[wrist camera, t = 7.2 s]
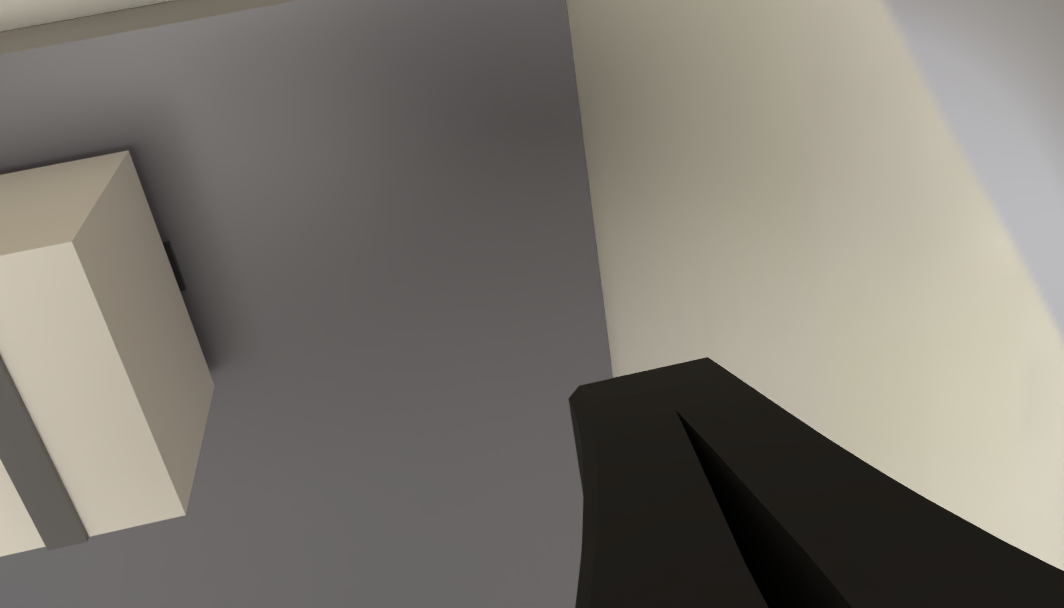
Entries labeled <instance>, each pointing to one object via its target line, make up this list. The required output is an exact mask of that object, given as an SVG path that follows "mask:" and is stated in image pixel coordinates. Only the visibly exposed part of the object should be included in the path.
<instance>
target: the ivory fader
mask: <svg viewBox="0 0 1064 608" xmlns="http://www.w3.org/2000/svg"><path fill="white" fill-rule="evenodd" d="M214 386H215V385H214V382H213V380H212V377H211V374H210V372H209V369H208V366H207V363H206V361H205V358H204V355H203V352H202V350H201V347H200V344H199V341H198V339H197V336H196V333H195V331H194V328H193V325H192V322H191V320H190V317H189V314H188V311H187V309H186V306H185V303H184V300H183V298H182V295H181V292H180V290H179V287H178V284H177V281H176V279H175V276H174V273H173V270H172V268H171V265H170V262H169V259H168V257H167V254H166V251H165V249H164V246H163V243H162V240H161V238H160V235H159V232H158V229H157V227H156V224H155V221H154V219H153V216H152V213H151V210H150V208H149V205H148V202H147V199H146V197H145V194H144V191H143V188H142V186H141V183H140V180H139V178H138V175H137V172H136V169H135V167H134V164H133V161H132V158H131V156H130V153H129V150H128V151H122V152H117V153H112V154H107V155H101V156H96V157H91V158H86V159H81V160H75V161H70V162H65V163H60V164H54V165H49V166H44V167H39V168H34V169H28V170H23V171H18V172H13V173H7V174H2V175H0V557H1V556H6V555H10V554H15V553H19V552H24V551H28V550H32V549H37V548H41V547H46V548H47V550H48V551H49V550H54V549H58V548H63V547H67V546H72V545H76V544H81V543H85V542H87V541H88V539H89V537H91V536H95V535H99V534H104V533H108V532H113V531H117V530H122V529H126V528H131V527H135V526H140V525H144V524H149V523H153V522H158V521H162V520H167V519H171V518H175V517H180V516H184V515H186V512H187V507H188V503H189V498H190V494H191V489H192V485H193V480H194V476H195V471H196V467H197V462H198V458H199V454H200V449H201V445H202V440H203V436H204V431H205V427H206V422H207V418H208V413H209V409H210V404H211V400H212V395H213V391H214Z"/></svg>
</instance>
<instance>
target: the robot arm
mask: <svg viewBox="0 0 1064 608" xmlns="http://www.w3.org/2000/svg"><path fill="white" fill-rule="evenodd" d="M569 406H570V412H571V419H572V425H573V432H574V438H575V445H576V452H577V458H578V465H579V471H580V478H581V484H582V491H583V528H582V550H581V561H580V570H579V579H578V587H577V596H576V605H575V608H1064V571H1063V570H1060V569H1058V568H1056V567H1054V566H1052V565H1050V564H1048V563H1046V562H1044V561H1042V560H1040V559H1038V558H1036V557H1034V556H1032V555H1030V554H1028V553H1026V552H1024V551H1022V550H1020V549H1018V548H1016V547H1014V546H1012V545H1010V544H1008V543H1006V542H1004V541H1003V540H1001V539H999V538H997V537H995V536H993V535H991V534H990V533H988V532H986V531H984V530H982V529H981V528H979V527H977V526H975V525H973V524H971V523H970V522H968V521H966V520H964V519H962V518H961V517H959V516H957V515H955V514H953V513H951V512H950V511H948V510H946V509H944V508H942V507H941V506H939V505H937V504H935V503H933V502H931V501H930V500H928V499H926V498H924V497H923V496H921V495H919V494H918V493H916V492H914V491H912V490H911V489H909V488H907V487H906V486H904V485H902V484H901V483H899V482H897V481H896V480H894V479H892V478H890V477H889V476H887V475H885V474H884V473H882V472H881V471H879V470H877V469H876V468H874V467H872V466H871V465H869V464H868V463H866V462H864V461H863V460H861V459H860V458H858V457H856V456H855V455H853V454H852V453H850V452H848V451H847V450H845V449H844V448H842V447H840V446H839V445H837V444H836V443H834V442H833V441H831V440H829V439H828V438H826V437H825V436H823V435H822V434H820V433H819V432H817V431H816V430H814V429H813V428H811V427H810V426H808V425H807V424H805V423H804V422H802V421H801V420H799V419H798V418H796V417H795V416H793V415H792V414H790V413H789V412H787V411H786V410H784V409H783V408H781V407H780V406H778V405H777V404H775V403H774V402H773V401H771V400H770V399H768V398H767V397H765V396H764V395H762V394H761V393H759V392H758V391H756V390H755V389H754V388H752V387H751V386H749V385H748V384H746V383H745V382H743V381H742V380H740V379H739V378H737V377H736V376H735V375H733V374H732V373H730V372H729V371H727V370H726V369H724V368H723V367H721V366H720V365H718V364H717V363H715V362H714V361H712V360H711V359H709V358H708V357H707V358H702V359H698V360H693V361H689V362H684V363H680V364H675V365H670V366H666V367H661V368H657V369H652V370H648V371H643V372H639V373H634V374H630V375H625V376H620V377H616V378H611V379H607V380H602V381H598V382H593V383H589V384H584V385H579V386H578V388H577V389H576V390H575V391H574V393H573V394H572V395H571V396H570V397H569Z"/></svg>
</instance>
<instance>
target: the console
mask: <svg viewBox="0 0 1064 608" xmlns="http://www.w3.org/2000/svg"><path fill="white" fill-rule="evenodd" d="M128 150H129V153H130V156H131V158H132V161H133V164H134V167H135V169H136V172H137V175H138V178H139V180H140V183H141V186H142V188H143V191H144V194H145V197H146V199H147V202H148V205H149V208H150V210H151V213H152V216H153V219H154V221H155V224H156V227H157V229H158V232H159V235H160V238H161V240H162V243H163V246H164V249H165V251H166V254H167V257H168V259H169V262H170V265H171V268H172V270H173V273H174V276H175V279H176V281H177V284H178V287H179V290H180V292H181V295H182V298H183V300H184V303H185V306H186V309H187V311H188V314H189V317H190V320H191V322H192V325H193V328H194V331H195V333H196V336H197V339H198V341H199V344H200V347H201V350H202V352H203V355H204V358H205V361H206V363H207V366H208V369H209V372H210V374H211V377H212V380H213V382H214V385H215V386H214V391H213V395H212V400H211V404H210V409H209V413H208V418H207V422H206V427H205V431H204V436H203V440H202V445H201V449H200V454H199V458H198V462H197V467H196V471H195V476H194V480H193V485H192V489H191V494H190V498H189V503H188V507H187V512H186V515H184V516H180V517H175V518H171V519H167V520H162V521H158V522H153V523H149V524H144V525H140V526H135V527H131V528H126V529H122V530H117V531H113V532H108V533H104V534H99V535H95V536H91V537H89V539H88V541H87V542H85V543H81V544H76V545H72V546H67V547H63V548H58V549H54V550H49V551H48V550H47V548H46V547H41V548H37V549H32V550H28V551H24V552H19V553H15V554H10V555H6V556H1V557H0V608H575V605H576V596H577V587H578V579H579V570H580V561H581V550H582V528H583V491H582V484H581V478H580V471H579V465H578V458H577V452H576V445H575V438H574V432H573V425H572V419H571V412H570V406H569V397H570V396H571V395H572V394H573V393H574V391H575V390H576V389H577V388H578V386H579V385H584V384H589V383H593V382H598V381H602V380H607V379H611V378H613V376H612V368H611V360H610V352H609V344H608V336H607V328H606V320H605V312H604V303H603V295H602V287H601V279H600V271H599V263H598V255H597V247H596V239H595V231H594V223H593V215H592V206H591V198H590V190H589V182H588V174H587V166H586V158H585V150H584V142H583V134H582V126H581V118H580V109H579V101H578V93H577V85H576V77H575V69H574V61H573V53H572V45H571V37H570V29H569V21H568V12H567V4H566V0H177V1H171V2H165V3H160V4H154V5H149V6H143V7H138V8H132V9H126V10H121V11H115V12H110V13H104V14H99V15H93V16H87V17H82V18H76V19H71V20H65V21H60V22H54V23H48V24H43V25H37V26H32V27H26V28H21V29H15V30H10V31H4V32H0V175H2V174H7V173H13V172H18V171H23V170H28V169H34V168H39V167H44V166H49V165H54V164H60V163H65V162H70V161H75V160H81V159H86V158H91V157H96V156H101V155H107V154H112V153H117V152H122V151H128Z"/></svg>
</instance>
